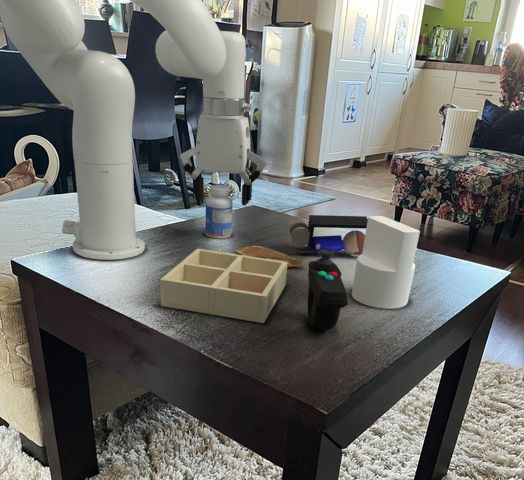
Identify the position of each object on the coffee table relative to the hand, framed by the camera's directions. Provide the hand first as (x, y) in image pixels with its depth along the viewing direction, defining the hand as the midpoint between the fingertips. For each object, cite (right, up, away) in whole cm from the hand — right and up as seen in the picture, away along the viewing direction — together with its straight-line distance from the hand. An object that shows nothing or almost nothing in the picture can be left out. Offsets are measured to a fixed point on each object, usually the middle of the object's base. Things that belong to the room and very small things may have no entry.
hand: (222, 201), depth 107 cm
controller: (+16, -27, -33) cm, 46 cm away
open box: (+3, -22, -25) cm, 33 cm away
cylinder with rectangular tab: (+27, -22, -21) cm, 40 cm away
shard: (+9, -14, -9) cm, 18 cm away
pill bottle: (-1, -6, +3) cm, 7 cm away
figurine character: (+21, -11, -3) cm, 24 cm away
